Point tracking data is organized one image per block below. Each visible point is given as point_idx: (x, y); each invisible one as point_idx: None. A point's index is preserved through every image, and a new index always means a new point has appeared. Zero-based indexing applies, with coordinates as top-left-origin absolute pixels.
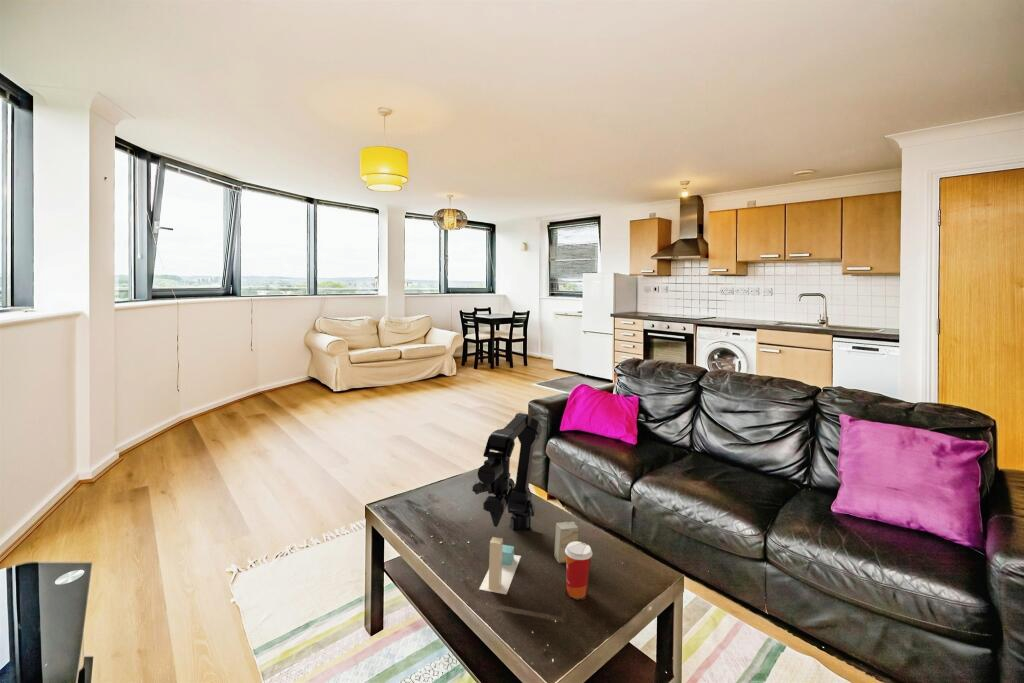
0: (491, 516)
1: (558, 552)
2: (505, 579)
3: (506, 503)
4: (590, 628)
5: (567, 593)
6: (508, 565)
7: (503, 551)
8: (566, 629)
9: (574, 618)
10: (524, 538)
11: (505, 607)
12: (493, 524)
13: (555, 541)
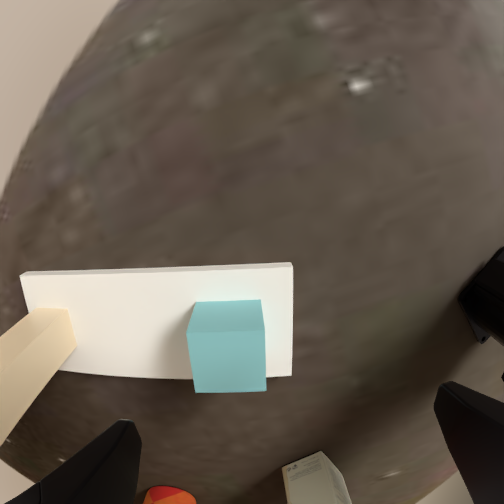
0: (24, 493)
1: (292, 496)
2: (106, 354)
3: (472, 493)
4: None
5: (154, 489)
6: None
7: (196, 356)
8: None
9: None
10: (438, 331)
11: None
12: (105, 430)
13: (329, 501)
